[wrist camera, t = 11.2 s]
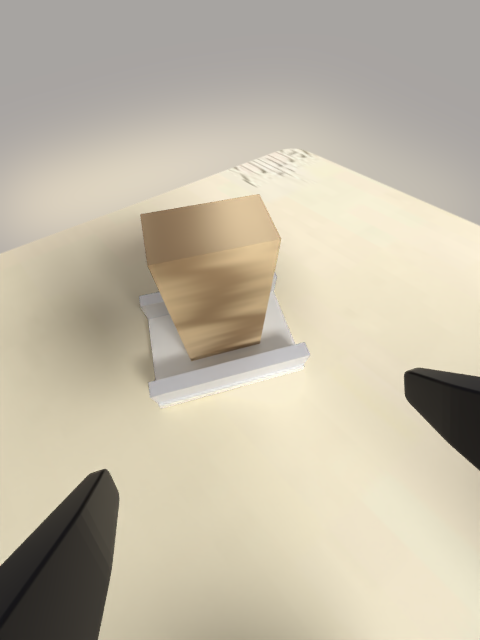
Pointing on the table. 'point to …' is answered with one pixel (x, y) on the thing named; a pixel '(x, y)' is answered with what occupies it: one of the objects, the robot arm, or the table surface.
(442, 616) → the table surface
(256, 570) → the table surface
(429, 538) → the table surface
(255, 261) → the wooden block
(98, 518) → the robot arm
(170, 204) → the table surface
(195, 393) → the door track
